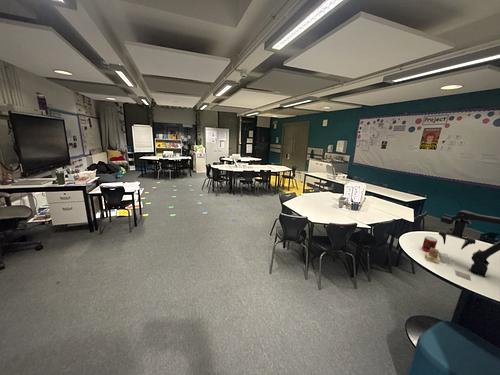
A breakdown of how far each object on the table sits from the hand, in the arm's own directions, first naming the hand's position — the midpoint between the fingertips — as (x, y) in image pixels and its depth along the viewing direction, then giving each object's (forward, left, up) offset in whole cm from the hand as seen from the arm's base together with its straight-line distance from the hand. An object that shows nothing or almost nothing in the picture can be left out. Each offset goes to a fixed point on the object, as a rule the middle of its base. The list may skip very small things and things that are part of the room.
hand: (452, 246), depth 149 cm
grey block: (+3, +3, -12) cm, 13 cm away
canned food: (+12, -8, -12) cm, 19 cm away
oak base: (+9, +8, -12) cm, 17 cm away
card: (-7, +16, -12) cm, 21 cm away
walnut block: (+9, +8, -8) cm, 15 cm away
